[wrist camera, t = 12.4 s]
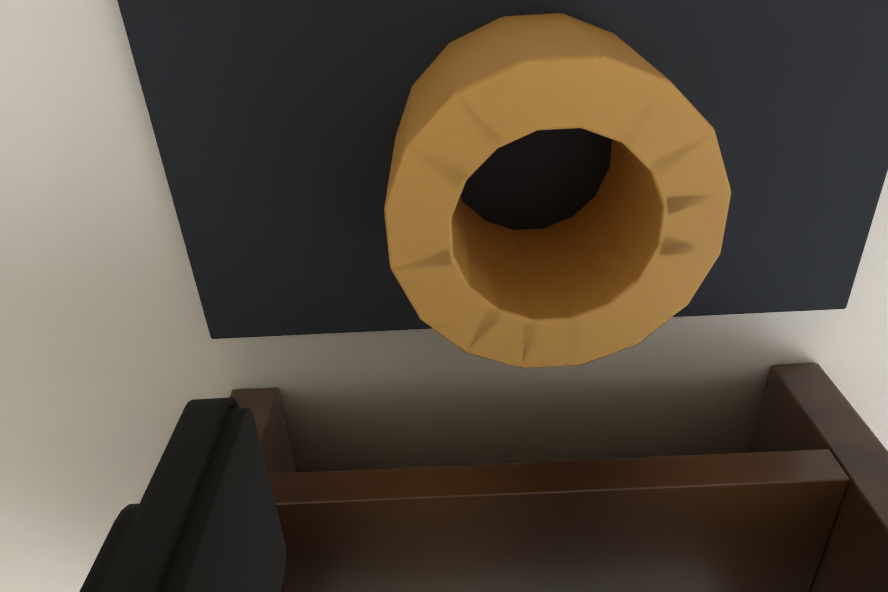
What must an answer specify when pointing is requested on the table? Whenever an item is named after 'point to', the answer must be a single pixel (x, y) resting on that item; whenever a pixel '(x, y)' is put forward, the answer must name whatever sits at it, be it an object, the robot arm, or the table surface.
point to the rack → (602, 513)
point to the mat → (509, 167)
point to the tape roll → (569, 241)
